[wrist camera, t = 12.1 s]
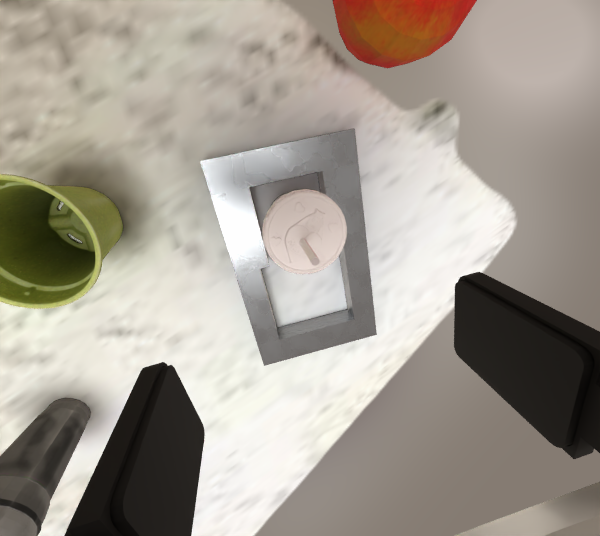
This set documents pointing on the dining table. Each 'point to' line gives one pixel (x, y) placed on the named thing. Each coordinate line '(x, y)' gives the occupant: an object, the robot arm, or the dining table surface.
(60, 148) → the dining table surface
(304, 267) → the smoothie
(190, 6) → the dining table surface
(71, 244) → the plant pot
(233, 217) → the keyhole plate
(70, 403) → the beverage cup
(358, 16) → the apple
